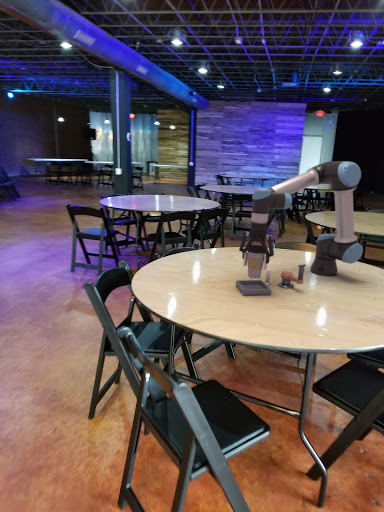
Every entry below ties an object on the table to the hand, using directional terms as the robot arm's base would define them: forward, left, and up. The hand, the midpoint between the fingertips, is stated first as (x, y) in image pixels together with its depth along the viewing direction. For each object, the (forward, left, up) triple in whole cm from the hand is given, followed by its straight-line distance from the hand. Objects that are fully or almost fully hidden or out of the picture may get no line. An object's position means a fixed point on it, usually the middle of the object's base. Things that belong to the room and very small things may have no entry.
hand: (254, 267), depth 166 cm
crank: (-21, -3, -8) cm, 23 cm away
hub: (-20, -6, -12) cm, 24 cm away
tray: (0, 0, -12) cm, 12 cm away
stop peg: (-11, -10, -12) cm, 19 cm away
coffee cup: (0, 0, -5) cm, 5 cm away
